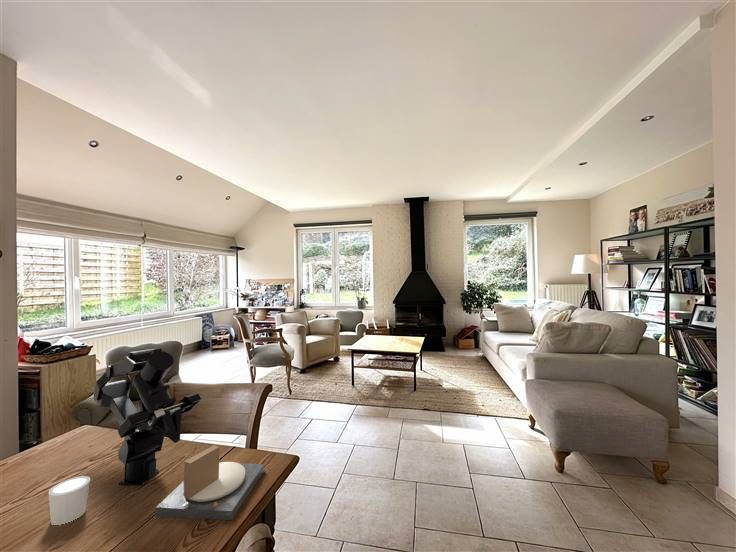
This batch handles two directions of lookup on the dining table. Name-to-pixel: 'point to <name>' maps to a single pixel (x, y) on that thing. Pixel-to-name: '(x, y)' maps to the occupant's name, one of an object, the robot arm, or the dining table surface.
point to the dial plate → (215, 508)
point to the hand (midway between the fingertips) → (177, 441)
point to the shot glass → (68, 500)
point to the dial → (210, 476)
